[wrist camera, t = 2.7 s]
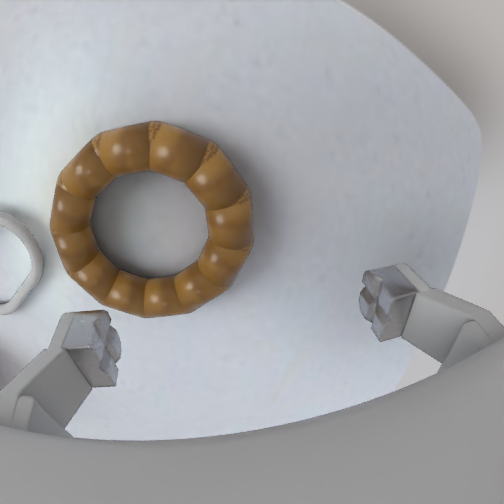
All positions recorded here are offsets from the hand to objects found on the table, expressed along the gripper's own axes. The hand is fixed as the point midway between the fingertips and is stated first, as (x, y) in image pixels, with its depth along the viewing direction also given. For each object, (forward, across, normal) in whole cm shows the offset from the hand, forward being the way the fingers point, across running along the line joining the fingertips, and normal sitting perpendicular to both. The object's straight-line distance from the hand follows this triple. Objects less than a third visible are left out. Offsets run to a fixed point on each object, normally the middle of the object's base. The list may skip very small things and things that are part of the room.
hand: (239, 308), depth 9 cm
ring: (+7, +4, 0) cm, 8 cm away
